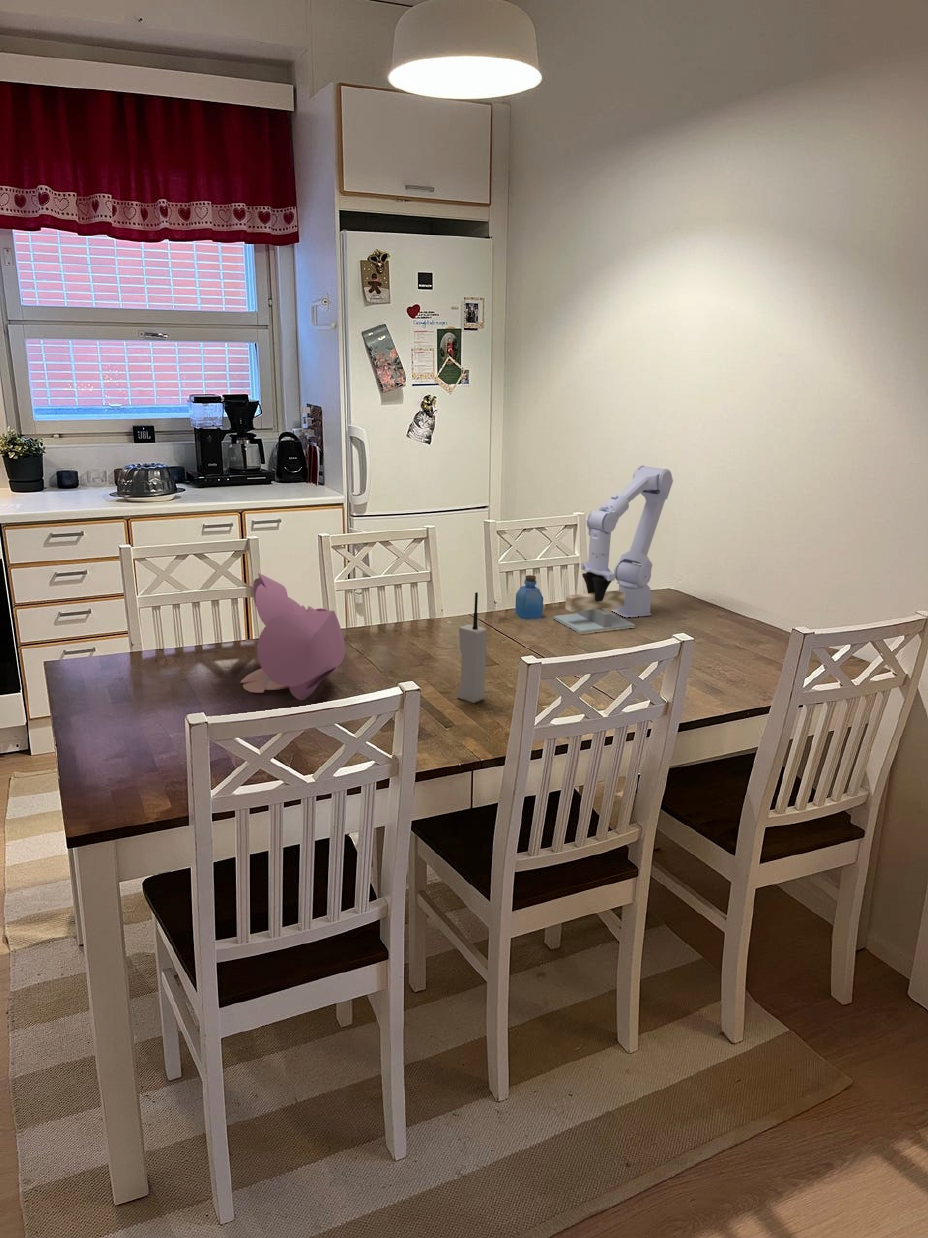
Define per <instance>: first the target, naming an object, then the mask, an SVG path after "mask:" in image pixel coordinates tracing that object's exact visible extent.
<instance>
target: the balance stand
mask: <svg viewBox="0 0 928 1238" xmlns="http://www.w3.org/2000/svg"><path fill="white" fill-rule="evenodd" d="M554 619H555V620H557V621H559V622H560V623H562V624H564V625H566V626H568V627H570V628H572V629H574V630H576V631H577V632H580V633H586V632H592V631H600V630H607V629H616V628H626V627H634V626H635V627H636V624H635V623H632V622H631V621H628V620H627V619H626V618H624V617H623V618H622V616H620V615H619V616H618V615H617V614H615V613H613V612H611V611H608V610H606V609H604V608H602V609H593V610H583V611H577V612H576V613H569V614H560V615H559V614H558V615H553V620H554ZM555 620H554V621H555ZM560 623H559V624H560ZM562 624H561V625H562ZM564 625H563V626H564Z"/></svg>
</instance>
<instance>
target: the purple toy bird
mask: <svg viewBox="0 0 928 1238" xmlns="http://www.w3.org/2000/svg"><path fill="white" fill-rule="evenodd" d="M257 575H258V577H257V578H255V579H254V580H253V585H252V589H253V600H254V604H255V607H256V609H257V610H256V611H257V614H258V616H259V618H260V620H261V622H262V623H263V624H264V626H265V627H263V629H262V631H261V632H260V635H259V636H258V641H257V645H256V646H257V647H256V652H257V658H258V663H259V665H260V667H261V668H259V669H257V670H255V671H253V672H251V673H249V674H247V675H246V676H245V677H244V678H242V679H241V681H240V684H242V683H243V684H242V687H243V690H245V691H247V692H250V693H259V694H260V693H265V690H266V691H267V690H268V691H270V690H271V691H272V690H273V691H274V690H281V689H282V690H283V689H289V691H290V694H291V695H292V696H293V697H294V698H295V699H297V700H298V701H305V700H306V698H307V697H308V698H310V697H311V696H312V695H313V694H314V692H315V691H316V689H317V688H318V686H319V685H320V683H321V682H322V681H324V680H325V679H326V678H327V677H328V676H330V674H332V673H333V672H334V671H335V670H336V669H337V667H339V665H341V663H342V662H343V661H344V658H345V656H346V644H345V638H344V634H343V631H342V628H341V625H340V622H339V619H338V617H337V614H336V611H335V610H333V609H332V610H328V609H326V608H313V607H312V606H310V605H308V606H307V609H306V607H305V606H304V604H303V605H301V604H300V603H298V602H297V601H295V600H294V599H292V598H291V597H290V596H288V591H287V588H286V587H285V585H284V584H282V583H280V582H278V581H276V580H274V579H272V578H270V577H267V576H266V575H264V574H261V573H259V572H257ZM312 693H313V694H312ZM311 694H312V695H311ZM310 695H311V696H310ZM309 696H310V697H309ZM308 698H307V699H308Z"/></svg>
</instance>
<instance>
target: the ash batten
mask: <svg viewBox="0 0 928 1238" xmlns="http://www.w3.org/2000/svg"><path fill="white" fill-rule="evenodd" d="M624 602H625V592H622V591H620V590H619V589H618V590H608V591H607V590H606V592H605V595H604V598H603V601H598V602H596V601H595V593H588V592H587V593H579V594H578V593H576V594H569V595H565V607H564V609H565V610H566V611H569V612H570V613H571V612H578V611H583V610H593V609H608V608H609V609H611V608H617V607H621V606H624Z"/></svg>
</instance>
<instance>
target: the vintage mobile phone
mask: <svg viewBox="0 0 928 1238" xmlns="http://www.w3.org/2000/svg"><path fill="white" fill-rule="evenodd" d="M478 595H479V593H478V592H474V612H473V624H470V623H468V624H466V625H463V626H460V627H459V628H458V631H459V632H458V633H459V634H458V635H459V650H460V654H461V660H460V661H461V662H460V686H459V688H458V690H457V692H456V697H457V699H460V700H463V701H466V702H469V703H472V704H475V703H477V702H479V701H483V700H484V698H485V686H486V685H485V684H486V664H487V663H486V662H487V658H486V657H487V641H488V640H487V639H488V638H487V637H488V631H487V628H484V627H481V626H478V615H479V614H478V603H479V601H478V597H479V596H478Z"/></svg>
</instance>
